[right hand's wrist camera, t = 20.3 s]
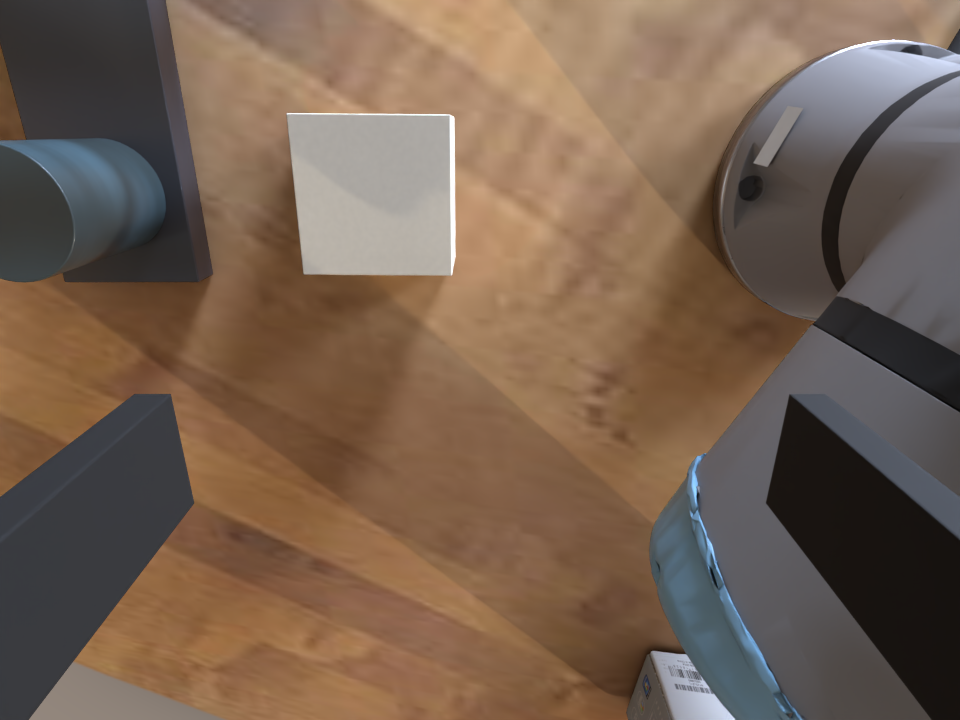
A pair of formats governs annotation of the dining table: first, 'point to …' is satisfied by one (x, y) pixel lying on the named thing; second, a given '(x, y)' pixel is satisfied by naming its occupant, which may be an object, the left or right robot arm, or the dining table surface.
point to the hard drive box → (673, 691)
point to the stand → (97, 147)
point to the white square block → (374, 193)
